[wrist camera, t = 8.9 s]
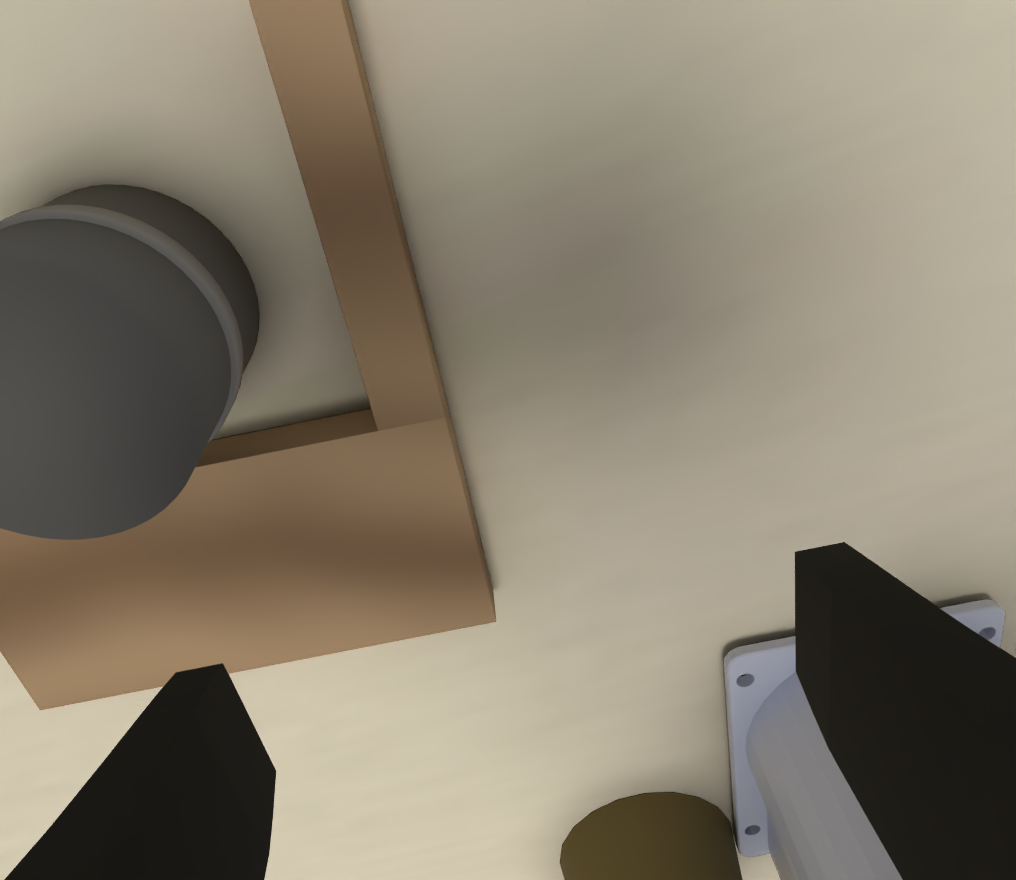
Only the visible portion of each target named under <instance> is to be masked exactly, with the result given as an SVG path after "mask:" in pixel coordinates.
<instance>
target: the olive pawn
mask: <svg viewBox="0 0 1016 880" xmlns="http://www.w3.org/2000/svg"><path fill="white" fill-rule="evenodd" d="M560 865H561V869H562V872H563V876H564V879H565V880H742V876H741V871H740V866H739V861H738V857H737V852H736V847H735V843H734V838H733V833H732V828H731V824H730V821H729V820H728V819H727V818H726V816H725V815H724V814H723V813H722V812H721V810H720V809H719V808H718V807H716V806H714V805H712V804H710V803H708V802H707V801H705V800H703V799H701V798H699V797H694V796H689V795H684V794H679V793H674V792H672V793H645V794H641V795H637V796H632V797H628V798H624V799H620V800H617V801H614V802H612V803H610V804H608V805H606V806H604V807H602V808H600V809H598V810H596V811H594V812H592V813H591V814H589V815H588V816H587V817H586V818H585V819H583V820H582V821H581V822H580V823H578V824H577V825H576V826H575V827H574V828H573V829H572V831H571V832H570V834H569V835H568V837H567V839H566V840H565V842H564V843H563V845H562V851H561V858H560Z"/></svg>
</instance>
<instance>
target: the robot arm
mask: <svg viewBox="0 0 1016 880" xmlns="http://www.w3.org/2000/svg"><path fill="white" fill-rule="evenodd" d="M1004 621H1005V612H1004V610H1003V609H1002V608H1001V607H1000V606H999V605H998V604H997V603H996V602H995V601H993V600H990V599H989V600H979V601H974V602H969V603H963V604H958V605H953V606H948V607H943V608H939V607H937V606H936V605H934V604H933V603H931V602H930V601H928V600H927V599H926V598H924V597H923V596H921V595H920V594H918V593H917V592H915V591H914V590H912V589H911V588H910V587H908V586H907V585H905V584H904V583H902V582H901V581H900V580H898V579H897V578H895V577H894V576H892V575H891V574H889V573H888V572H887V571H885V570H884V569H882V568H881V567H879V566H878V565H877V564H875V563H874V562H872V561H871V560H869V559H868V558H866V557H865V556H864V555H862V554H861V553H859V552H858V551H856V550H855V549H853V548H852V547H851V546H849V545H848V544H846V543H845V542H843V543H838V544H833V545H828V546H823V547H817V548H812V549H807V550H802V551H797V552H795V636H792V637H787V638H782V639H777V640H771V641H766V642H761V643H756V644H751V645H745V646H740V647H737V648H734V649H732V650H731V651H730V652H728V654H727V655H726V656H725V658H724V675H725V690H726V706H727V721H728V736H729V751H730V767H731V782H732V797H733V812H734V828H735V842H736V845H737V848H738V850H739V853H740V854H742V855H743V856H747V857H754V856H760V855H765V854H771V856H772V859H773V861H774V864H775V866H776V869H777V871H778V874H779V877H780V879H781V880H1016V658H1015V657H1013V656H1012V655H1010V654H1008V653H1007V652H1005V651H1004V650H1002V649H1001V648H1000V645H1001V639H1002V633H1003V627H1004ZM743 674H746V675H745V676H742V677H740V676H741V675H743ZM275 779H276V770H275V768H274V766H273V764H272V762H271V760H270V758H269V756H268V754H267V752H266V750H265V747H264V745H263V743H262V741H261V739H260V737H259V735H258V733H257V731H256V729H255V727H254V725H253V723H252V721H251V719H250V717H249V715H248V713H247V711H246V709H245V707H244V705H243V703H242V701H241V699H240V697H239V695H238V693H237V690H236V688H235V686H234V684H233V682H232V680H231V678H230V676H229V674H228V672H227V670H226V668H225V666H224V664H223V663H221V664H216V665H211V666H206V667H201V668H196V669H190V670H185V671H180V672H176V673H175V674H174V675H173V676H172V677H171V678H170V680H169V681H168V682H167V683H166V684H165V685H164V687H163V688H162V689H161V690H160V691H159V693H158V694H157V695H156V696H155V698H154V699H153V700H152V701H151V702H150V704H149V705H148V706H147V707H146V709H145V710H144V711H143V712H142V714H141V715H140V716H139V717H138V719H137V720H136V721H135V722H134V724H133V725H132V726H131V728H130V729H129V730H128V731H127V733H126V734H125V735H124V736H123V738H122V739H121V740H120V741H119V743H118V744H117V745H116V746H115V748H114V749H113V750H112V751H111V753H110V754H109V755H108V757H107V758H106V759H105V760H104V762H103V763H102V764H101V765H100V766H99V768H98V769H97V770H96V771H95V773H94V774H93V775H92V776H91V778H90V779H89V780H88V781H87V782H86V784H85V785H84V786H83V787H82V789H81V790H80V791H79V792H78V794H77V795H76V796H75V797H74V798H73V800H72V801H71V802H70V803H69V805H68V806H67V807H66V808H65V810H64V811H63V812H62V813H61V814H60V816H59V817H58V818H57V819H56V821H55V822H54V823H53V824H52V825H51V827H50V828H49V829H48V830H47V831H46V833H45V834H44V835H43V836H42V837H41V838H40V840H39V841H38V842H37V843H36V844H35V845H34V846H33V848H32V849H31V850H30V851H29V852H28V853H27V854H26V856H25V857H24V858H23V859H22V860H21V861H20V862H19V864H18V865H17V866H16V867H15V868H14V869H13V870H12V872H11V873H10V874H9V875H8V876H7V877H6V879H5V880H264V877H265V872H266V867H267V862H268V857H269V850H270V840H271V830H272V820H273V807H274V793H275Z"/></svg>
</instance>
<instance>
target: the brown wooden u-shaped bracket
mask: <svg viewBox="0 0 1016 880" xmlns="http://www.w3.org/2000/svg"><path fill="white" fill-rule="evenodd" d="M249 3H250V6H251V9H252V13H253V16H254V19H255V23H256V26H257V29H258V33H259V36H260V39H261V43H262V46H263V49H264V53H265V56H266V59H267V63H268V66H269V69H270V73H271V76H272V79H273V83H274V86H275V89H276V93H277V96H278V99H279V103H280V106H281V109H282V113H283V116H284V119H285V123H286V126H287V129H288V133H289V136H290V139H291V143H292V146H293V149H294V153H295V156H296V159H297V163H298V166H299V169H300V173H301V176H302V179H303V183H304V186H305V189H306V192H307V196H308V199H309V202H310V206H311V209H312V212H313V216H314V219H315V222H316V226H317V229H318V232H319V236H320V239H321V242H322V246H323V249H324V252H325V256H326V259H327V262H328V266H329V269H330V272H331V276H332V279H333V282H334V286H335V289H336V292H337V296H338V299H339V302H340V306H341V309H342V312H343V316H344V319H345V322H346V326H347V329H348V332H349V336H350V339H351V342H352V346H353V349H354V352H355V356H356V359H357V362H358V366H359V369H360V372H361V376H362V379H363V382H364V386H365V389H366V392H367V396H368V399H369V402H370V406H371V409H367V410H362V411H357V412H352V413H347V414H342V415H337V416H332V417H327V418H322V419H317V420H312V421H307V422H302V423H297V424H292V425H287V426H282V427H277V428H272V429H267V430H262V431H257V432H252V433H247V434H242V435H237V436H232V437H227V438H222V439H217V440H212V441H210V442H209V443H208V444H207V445H206V447H205V449H204V451H203V453H202V455H201V457H200V459H199V461H198V463H197V465H196V467H195V469H194V471H193V473H192V475H191V476H190V478H189V480H188V482H187V484H186V486H185V487H184V488H183V490H182V491H181V492H180V494H179V495H178V496H177V498H176V499H175V500H174V501H173V502H172V503H170V504H169V505H168V506H167V507H166V508H165V509H164V510H163V511H161V512H160V513H159V514H157V515H156V516H154V517H153V518H152V519H150V520H148V521H146V522H144V523H142V524H140V525H138V526H136V527H134V528H131V529H129V530H126V531H123V532H120V533H117V534H113V535H108V536H104V537H99V538H91V539H82V540H59V539H48V538H39V537H34V536H29V535H23V534H19V533H16V532H12V531H9V530H5V529H1V528H0V651H1V653H2V654H3V656H4V657H5V659H6V660H7V662H8V663H9V665H10V666H11V668H12V669H13V671H14V672H15V674H16V675H17V677H18V678H19V680H20V681H21V683H22V684H23V686H24V687H25V689H26V690H27V692H28V693H29V695H30V696H31V697H32V699H33V700H34V702H35V703H36V705H37V706H38V708H39V709H40V710H44V709H49V708H54V707H59V706H64V705H69V704H75V703H80V702H85V701H90V700H95V699H100V698H105V697H111V696H116V695H121V694H126V693H131V692H136V691H141V690H147V689H152V688H157V687H162V686H164V685H165V684H166V683H167V682H168V681H169V680H170V678H171V677H172V676H173V675H174V674H175V673H176V672H180V671H185V670H190V669H196V668H201V667H206V666H211V665H216V664H221V663H223V664H224V666H225V668H226V670H227V672H228V674H229V673H234V672H239V671H244V670H250V669H255V668H260V667H265V666H270V665H275V664H280V663H286V662H291V661H296V660H301V659H306V658H311V657H316V656H322V655H327V654H332V653H337V652H342V651H347V650H352V649H358V648H363V647H368V646H373V645H378V644H383V643H388V642H394V641H399V640H404V639H409V638H414V637H419V636H424V635H430V634H435V633H440V632H445V631H450V630H455V629H461V628H466V627H471V626H476V625H481V624H486V623H491V622H496V614H495V604H494V594H493V588H492V584H491V580H490V576H489V572H488V568H487V564H486V560H485V556H484V552H483V548H482V544H481V539H480V535H479V531H478V527H477V523H476V519H475V515H474V511H473V507H472V503H471V499H470V495H469V491H468V487H467V483H466V479H465V475H464V471H463V466H462V462H461V458H460V454H459V450H458V446H457V442H456V438H455V434H454V430H453V426H452V422H451V418H450V414H449V410H448V406H447V402H446V397H445V393H444V389H443V385H442V381H441V377H440V373H439V369H438V365H437V361H436V357H435V353H434V349H433V345H432V341H431V337H430V333H429V329H428V324H427V320H426V316H425V312H424V308H423V304H422V300H421V296H420V292H419V288H418V284H417V280H416V276H415V272H414V268H413V264H412V260H411V255H410V251H409V247H408V243H407V239H406V235H405V231H404V227H403V223H402V219H401V215H400V211H399V207H398V203H397V199H396V195H395V191H394V187H393V182H392V178H391V174H390V170H389V166H388V162H387V158H386V154H385V150H384V146H383V142H382V138H381V134H380V130H379V126H378V122H377V118H376V113H375V109H374V105H373V101H372V97H371V93H370V89H369V85H368V81H367V77H366V73H365V69H364V65H363V61H362V57H361V53H360V49H359V45H358V40H357V36H356V32H355V28H354V24H353V20H352V16H351V12H350V8H349V4H348V0H249Z"/></svg>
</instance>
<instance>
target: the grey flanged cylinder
mask: <svg viewBox="0 0 1016 880" xmlns="http://www.w3.org/2000/svg"><path fill="white" fill-rule="evenodd" d="M258 331H259V307H258V299H257V295H256V291H255V287H254V284H253V281H252V279H251V276H250V274H249V271H248V269H247V267H246V266H245V264H244V262H243V260H242V258H241V256H240V255H239V254H238V252H237V251H236V249H235V248H234V247H233V245H232V244H231V242H230V241H229V240H228V239H227V238H226V237H225V236H224V235H223V234H222V232H221V231H220V230H219V229H218V228H216V227H215V226H214V225H213V224H212V223H211V222H210V221H209V220H207V219H206V218H205V217H204V216H202V215H201V214H199V213H198V212H196V211H195V210H194V209H192V208H191V207H189V206H187V205H185V204H183V203H181V202H179V201H178V200H176V199H174V198H171V197H169V196H166V195H164V194H161V193H159V192H155V191H152V190H148V189H144V188H140V187H133V186H127V185H99V186H90V187H86V188H82V189H78V190H74V191H72V192H70V193H67V194H65V195H63V196H60V197H58V198H56V199H55V200H53V201H51V202H49V203H47V204H45V205H43V206H42V207H38V208H34V209H30V210H26V211H22V212H20V213H18V214H15V215H13V216H10V217H8V218H6V219H4V220H2V221H0V528H1V529H5V530H9V531H12V532H16V533H19V534H23V535H29V536H34V537H39V538H48V539H59V540H82V539H91V538H99V537H104V536H108V535H113V534H117V533H120V532H123V531H126V530H129V529H131V528H134V527H136V526H138V525H140V524H142V523H144V522H146V521H148V520H150V519H152V518H153V517H154V516H156V515H157V514H159V513H160V512H161V511H163V510H164V509H165V508H166V507H167V506H168V505H169V504H170V503H172V502H173V501H174V500H175V499H176V498H177V496H178V495H179V494H180V492H181V491H182V490H183V488H184V487H185V486H186V484H187V482H188V480H189V478H190V476H191V475H192V473H193V471H194V469H195V467H196V465H197V463H198V461H199V459H200V457H201V455H202V453H203V451H204V449H205V447H206V445H207V444H208V443H209V442H210V441H211V440H212V439H213V438H214V436H215V435H216V434H217V432H218V431H219V430H220V428H221V427H222V425H223V423H224V421H225V419H226V417H227V415H228V414H229V412H230V410H231V407H232V405H233V403H234V401H235V399H236V396H237V393H238V390H239V387H240V384H241V378H242V374H243V372H244V370H245V368H246V366H247V364H248V362H249V360H250V358H251V356H252V354H253V351H254V348H255V345H256V342H257V336H258Z"/></svg>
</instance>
